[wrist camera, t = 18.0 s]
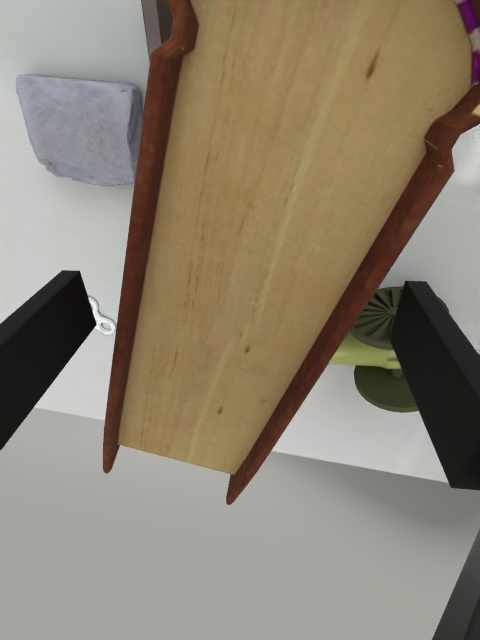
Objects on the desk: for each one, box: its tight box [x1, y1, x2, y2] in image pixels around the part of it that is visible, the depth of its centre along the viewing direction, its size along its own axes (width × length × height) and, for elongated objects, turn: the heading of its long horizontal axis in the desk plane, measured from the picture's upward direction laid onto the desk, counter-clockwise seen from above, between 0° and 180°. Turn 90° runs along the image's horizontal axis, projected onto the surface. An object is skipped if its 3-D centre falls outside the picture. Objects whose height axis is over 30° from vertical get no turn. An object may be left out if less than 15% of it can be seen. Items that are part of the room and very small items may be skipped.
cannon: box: [328, 287, 449, 412], centre depth 44 cm, size 25×12×11 cm, turn 106°
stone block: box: [16, 74, 143, 186], centre depth 36 cm, size 12×5×10 cm
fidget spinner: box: [88, 297, 116, 334], centre depth 51 cm, size 7×6×1 cm
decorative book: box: [103, 0, 480, 505], centre depth 24 cm, size 22×8×30 cm, turn 162°
